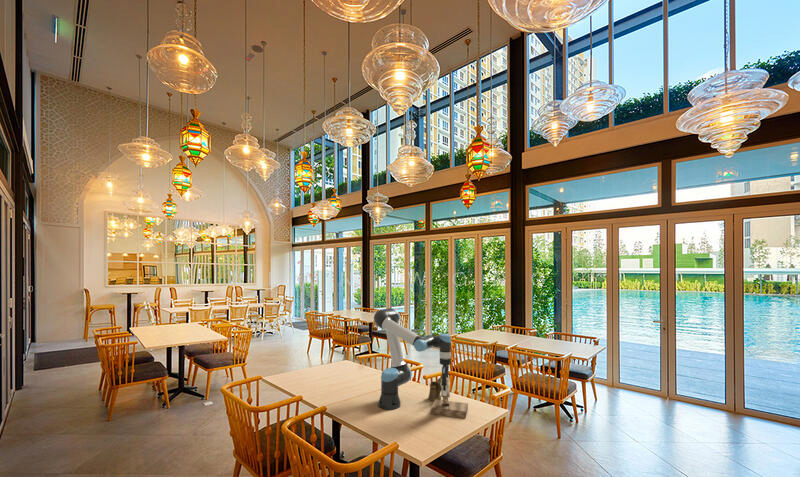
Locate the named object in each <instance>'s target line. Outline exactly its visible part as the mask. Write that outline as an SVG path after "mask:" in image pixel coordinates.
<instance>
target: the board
mask: <svg viewBox="0 0 800 477" xmlns="http://www.w3.org/2000/svg"><path fill="white" fill-rule="evenodd" d="M430 407H431V415H438V416H447V417H455V418H462V419H466V418H467V414H468V410H469V404H468V402H459V401H452V400H451V401H449V400H448V403H443V399H441V400H435V401H433V403H432V405H431V406H430Z"/></svg>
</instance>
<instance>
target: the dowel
mask: <svg viewBox="0 0 800 477" xmlns="http://www.w3.org/2000/svg"><path fill="white" fill-rule="evenodd" d="M440 378H441V377H440ZM450 382H451V381H450V377H449V378H447V382H446V384H447V396H444V395H443V385H441V392H440V395H441V398H442V400H443V403H448V401H449V398H450V396H451V394H450V393H451V388H450V386H451V383H450ZM441 384H442V378H441Z"/></svg>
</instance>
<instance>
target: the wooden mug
mask: <svg viewBox="0 0 800 477" xmlns="http://www.w3.org/2000/svg"><path fill="white" fill-rule="evenodd" d="M441 378H442V376H440V377H439V378H438V379H437V380H436V381H431V382H430V383H429V393H428V398H427V399H428V400H430V401H433V402H434V401H435V400H442V397H441Z"/></svg>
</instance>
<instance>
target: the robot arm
mask: <svg viewBox="0 0 800 477" xmlns="http://www.w3.org/2000/svg"><path fill="white" fill-rule="evenodd" d="M400 319H401V318H400V313H399V311H398V310H397V309H395V308H393V307H392V308H391V307H389V308H382V309H378V310H377V311H376V312H375V313H374V315H373V322H374V324H375V325H376V326H377V327H379V329H382V330H385V332H386V340H387V342H388V343H387V344H388V347H389V354H390V358H391V366H390V367H388V368H385V369H383V370H382V372H381V375H380V380H381V381H380V382H381V384H380V389H381V390H380V391H381V392H380V397H379V399H378V403H377V404H378V405H377V406H378V407H379V408H380V409H383V410H388V411H389V410H396V409H399V408H400V407H401V398H400V395H399V387H400V386H402V385H404V384H407V383H408V382H409V381H410V380H411V379H412V369H411V367H409V366H408V365H407V362H406V361H405V360H404V355H403V351H402V346H401V345H402V344H401V341H400V339H401V340H403V341H405V342H407V343H408V344H409V345H412V346H413V347H414V349H415V350H416V352H421V353H422V352H424V351H426V350H429V349H432V348H435V349H436V348H437V349H439V364H440V365H441V366H442V367H441V377H442V384H441V385H443V395H444V396H447V384H446V382H447V378H450V377H449V374H450V373H449V367H450V365H451V364H452V359H451V358H452V355H453V354H452V348H451V347H452V340H451V339H452V338H451V337H452V336H451V334H449V333H440V334H439V336H438V335H431V334H425V335H424V336H420V335H419V334H417V333H415V332H413V331H412V330H410V329H408V328H406V327H405V326H403V325H401V324H399V321H400Z"/></svg>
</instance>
